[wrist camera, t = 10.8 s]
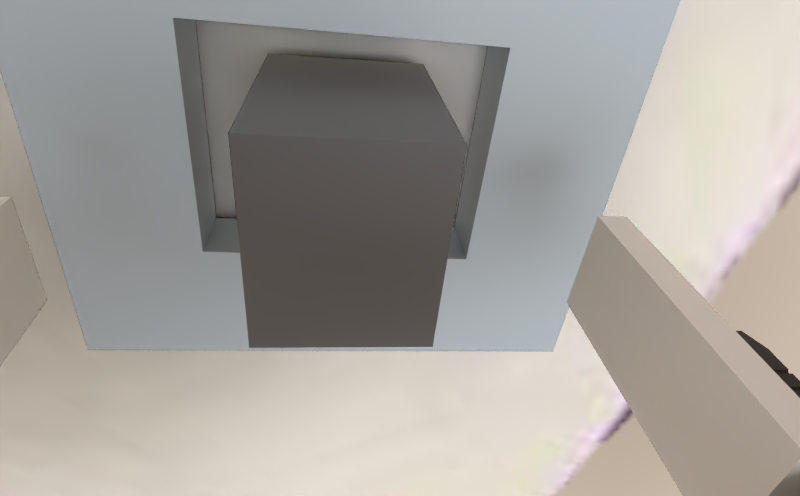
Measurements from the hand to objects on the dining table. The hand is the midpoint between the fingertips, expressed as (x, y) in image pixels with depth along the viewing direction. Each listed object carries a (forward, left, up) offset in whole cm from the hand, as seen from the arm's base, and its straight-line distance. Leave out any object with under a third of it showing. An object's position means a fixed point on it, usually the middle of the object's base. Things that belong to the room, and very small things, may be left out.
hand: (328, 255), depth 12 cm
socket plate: (0, 0, -9) cm, 9 cm away
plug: (0, 0, -9) cm, 9 cm away
